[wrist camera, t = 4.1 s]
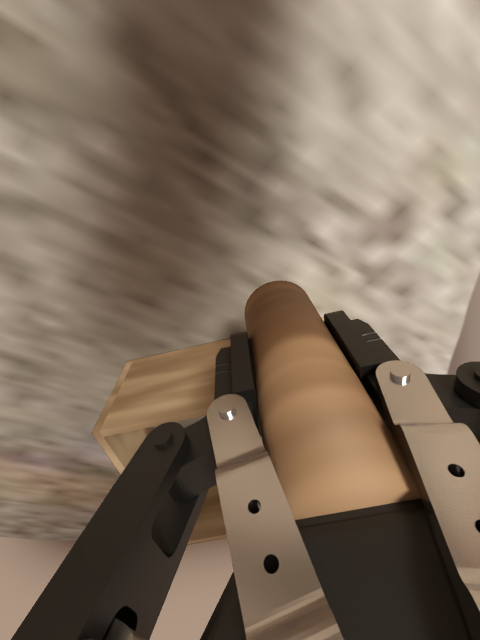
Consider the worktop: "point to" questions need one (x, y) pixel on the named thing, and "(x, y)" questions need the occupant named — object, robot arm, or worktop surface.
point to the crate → (163, 413)
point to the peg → (318, 412)
